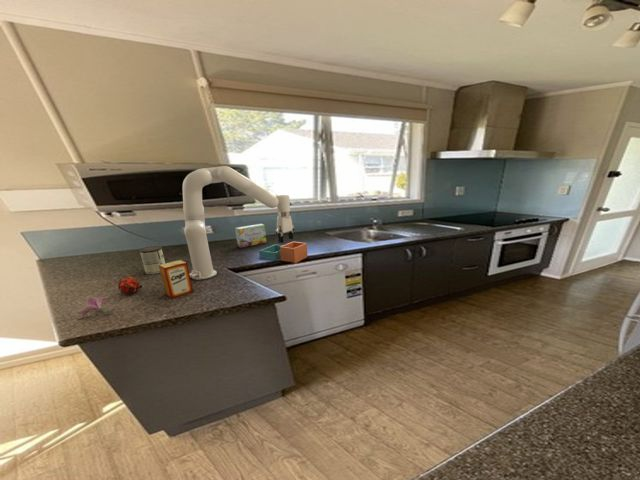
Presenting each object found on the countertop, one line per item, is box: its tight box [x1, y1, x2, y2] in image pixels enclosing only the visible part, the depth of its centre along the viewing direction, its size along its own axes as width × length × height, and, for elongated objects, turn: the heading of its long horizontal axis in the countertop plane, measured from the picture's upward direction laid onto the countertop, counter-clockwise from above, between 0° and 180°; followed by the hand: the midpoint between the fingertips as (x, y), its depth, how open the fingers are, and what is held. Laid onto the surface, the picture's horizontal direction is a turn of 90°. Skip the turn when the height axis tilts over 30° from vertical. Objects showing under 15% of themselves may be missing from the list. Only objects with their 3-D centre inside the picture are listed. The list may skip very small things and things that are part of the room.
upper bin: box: [280, 241, 309, 264], centre depth 192 cm, size 14×11×10 cm
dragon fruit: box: [117, 276, 143, 296], centre depth 142 cm, size 8×8×12 cm
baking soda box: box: [159, 259, 194, 299], centre depth 140 cm, size 10×6×16 cm
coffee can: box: [138, 245, 166, 275], centre depth 168 cm, size 10×10×14 cm
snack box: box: [234, 223, 267, 249], centre depth 222 cm, size 21×6×15 cm, turn 143°
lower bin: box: [258, 243, 284, 261], centre depth 198 cm, size 16×13×6 cm
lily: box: [78, 292, 110, 320], centre depth 121 cm, size 12×12×10 cm
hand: (286, 240), depth 183 cm, fingers open, 9 cm apart
